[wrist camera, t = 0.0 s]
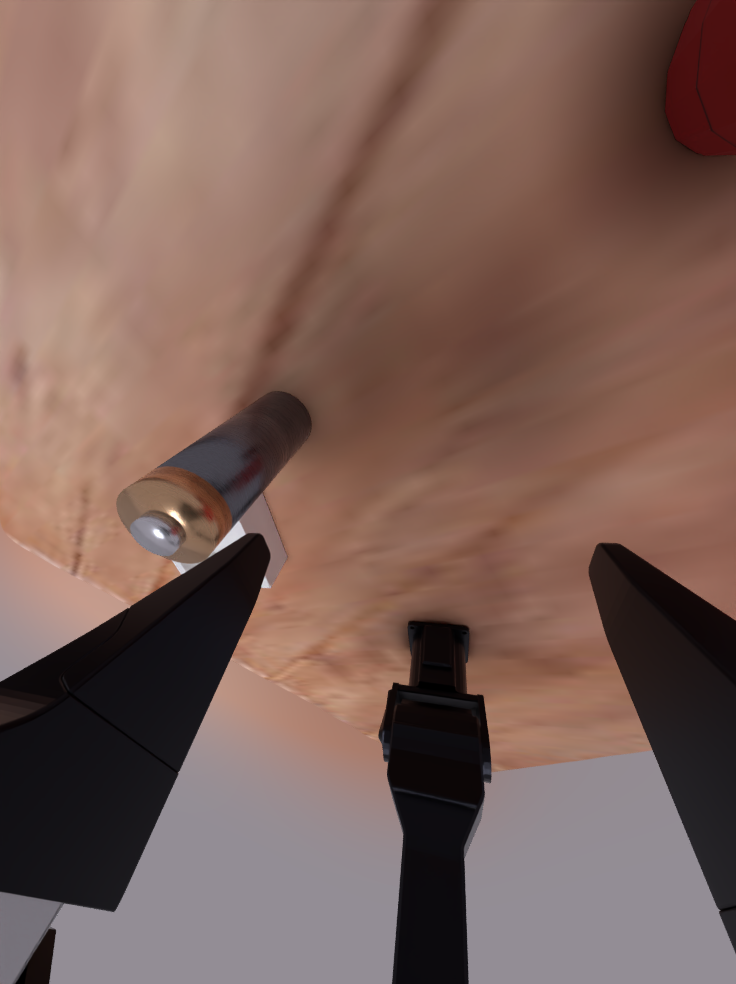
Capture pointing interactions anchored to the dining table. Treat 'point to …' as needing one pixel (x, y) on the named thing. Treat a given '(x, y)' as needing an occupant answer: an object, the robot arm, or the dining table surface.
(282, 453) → the battery cell
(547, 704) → the dining table surface
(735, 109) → the plastic cup
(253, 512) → the bin
